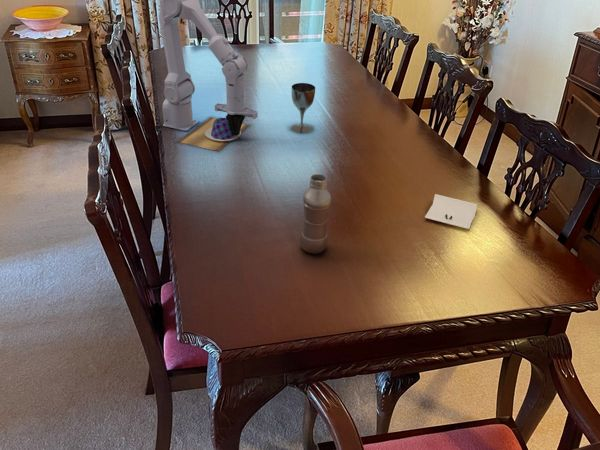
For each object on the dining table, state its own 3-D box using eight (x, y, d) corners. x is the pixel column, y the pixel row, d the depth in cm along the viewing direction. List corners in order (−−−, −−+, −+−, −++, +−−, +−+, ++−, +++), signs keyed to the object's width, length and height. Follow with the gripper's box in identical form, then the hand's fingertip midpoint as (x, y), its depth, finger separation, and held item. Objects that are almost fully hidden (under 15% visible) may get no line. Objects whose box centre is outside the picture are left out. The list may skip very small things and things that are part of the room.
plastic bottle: (309, 237, 139) (313, 168, 128) (331, 247, 136) (338, 177, 125) (294, 250, 135) (297, 178, 124) (317, 260, 132) (323, 188, 121)
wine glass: (310, 134, 189) (313, 92, 181) (287, 131, 191) (289, 89, 182) (314, 125, 196) (317, 84, 187) (292, 122, 197) (294, 81, 189)
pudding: (217, 124, 192) (216, 110, 189) (247, 132, 188) (247, 118, 186) (198, 138, 183) (197, 123, 180) (229, 146, 179) (228, 131, 176)
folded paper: (423, 220, 148) (425, 214, 147) (433, 199, 158) (435, 193, 156) (469, 232, 144) (470, 226, 143) (476, 210, 154) (478, 204, 153)
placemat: (177, 142, 180) (177, 141, 180) (210, 117, 198) (210, 117, 198) (218, 151, 176) (218, 151, 176) (248, 125, 193) (248, 125, 193)
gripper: (209, 95, 175) (211, 134, 183) (250, 103, 171) (251, 143, 179) (219, 88, 181) (221, 126, 188) (260, 96, 177) (260, 135, 184)
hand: (236, 134), depth 184 cm, fingers closed
